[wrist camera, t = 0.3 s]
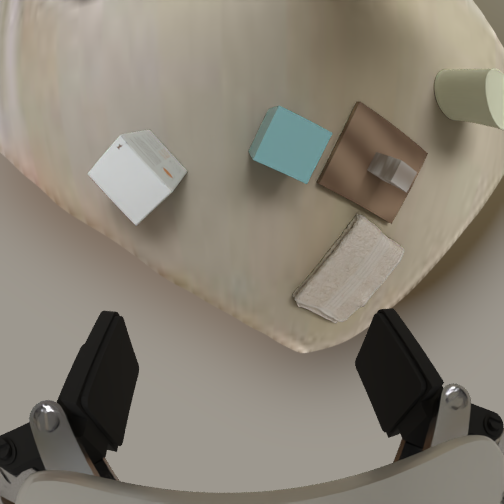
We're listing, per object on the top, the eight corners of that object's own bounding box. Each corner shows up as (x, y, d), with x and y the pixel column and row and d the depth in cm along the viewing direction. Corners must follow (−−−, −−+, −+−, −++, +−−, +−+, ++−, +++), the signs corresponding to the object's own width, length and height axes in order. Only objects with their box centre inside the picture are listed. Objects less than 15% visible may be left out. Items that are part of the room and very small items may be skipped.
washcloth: (287, 295, 44) (291, 307, 42) (355, 208, 38) (364, 215, 35) (337, 319, 48) (342, 330, 45) (400, 244, 42) (409, 252, 39)
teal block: (268, 109, 31) (279, 105, 24) (311, 129, 32) (332, 133, 25) (248, 151, 33) (253, 159, 26) (291, 170, 34) (306, 184, 28)
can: (474, 100, 29) (523, 108, 18) (454, 131, 32) (506, 144, 21) (447, 59, 26) (498, 57, 15) (425, 89, 29) (480, 90, 18)
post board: (356, 101, 30) (384, 100, 24) (424, 152, 34) (454, 162, 27) (316, 182, 35) (336, 197, 29) (388, 221, 39) (413, 242, 32)
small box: (121, 157, 32) (84, 173, 22) (150, 128, 30) (119, 132, 21) (159, 198, 35) (135, 228, 26) (189, 171, 34) (173, 192, 24)
